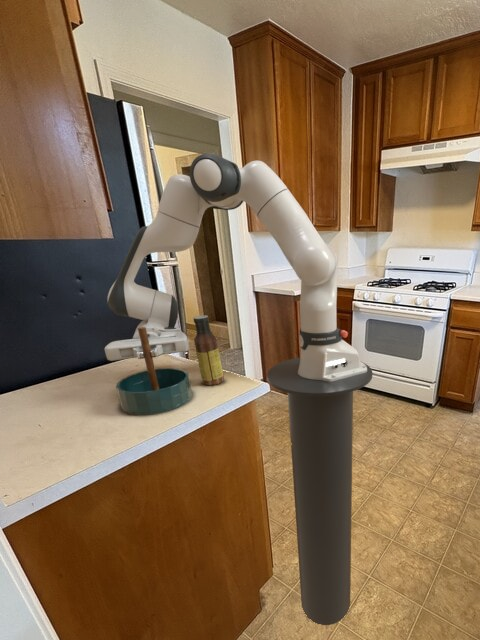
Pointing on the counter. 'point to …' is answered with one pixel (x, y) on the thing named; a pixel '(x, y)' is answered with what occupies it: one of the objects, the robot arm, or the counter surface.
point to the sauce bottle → (207, 352)
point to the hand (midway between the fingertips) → (147, 355)
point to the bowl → (154, 392)
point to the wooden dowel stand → (148, 358)
